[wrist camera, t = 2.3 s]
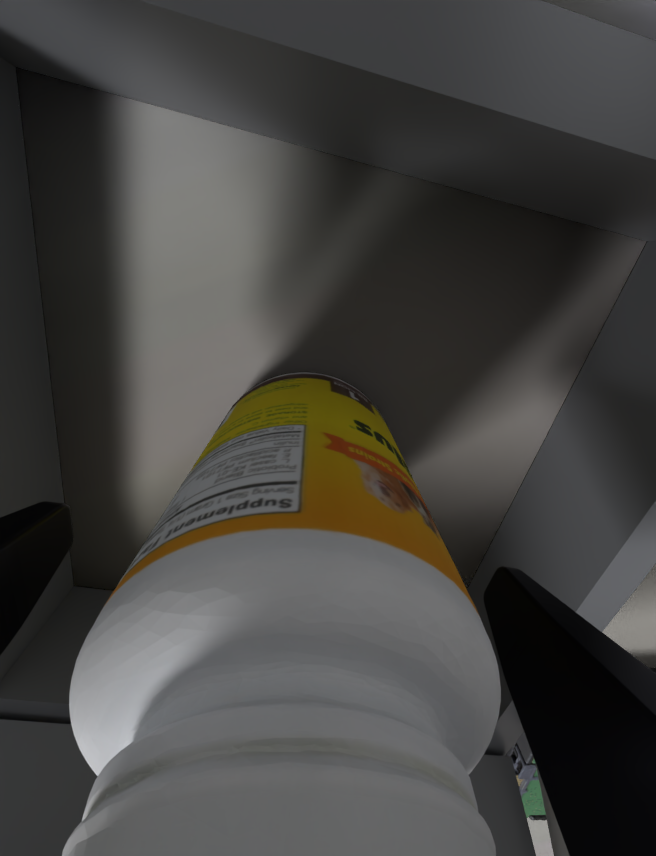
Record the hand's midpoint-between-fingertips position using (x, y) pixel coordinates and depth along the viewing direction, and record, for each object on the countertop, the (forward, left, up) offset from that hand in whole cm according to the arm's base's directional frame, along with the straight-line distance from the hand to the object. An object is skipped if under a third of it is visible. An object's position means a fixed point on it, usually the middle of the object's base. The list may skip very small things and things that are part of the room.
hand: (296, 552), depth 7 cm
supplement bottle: (0, 0, -5) cm, 5 cm away
